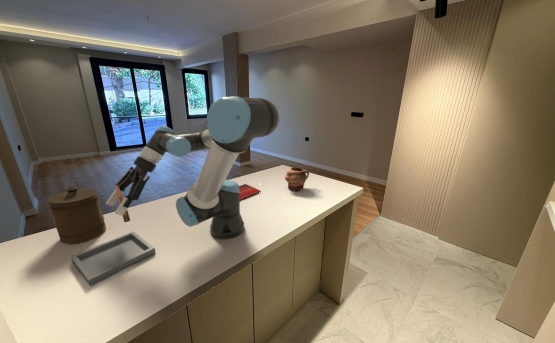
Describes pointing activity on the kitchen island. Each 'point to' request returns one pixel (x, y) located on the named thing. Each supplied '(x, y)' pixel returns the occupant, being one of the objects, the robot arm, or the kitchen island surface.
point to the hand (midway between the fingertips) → (113, 209)
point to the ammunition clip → (120, 199)
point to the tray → (111, 257)
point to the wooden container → (77, 215)
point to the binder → (247, 191)
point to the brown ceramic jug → (296, 178)
